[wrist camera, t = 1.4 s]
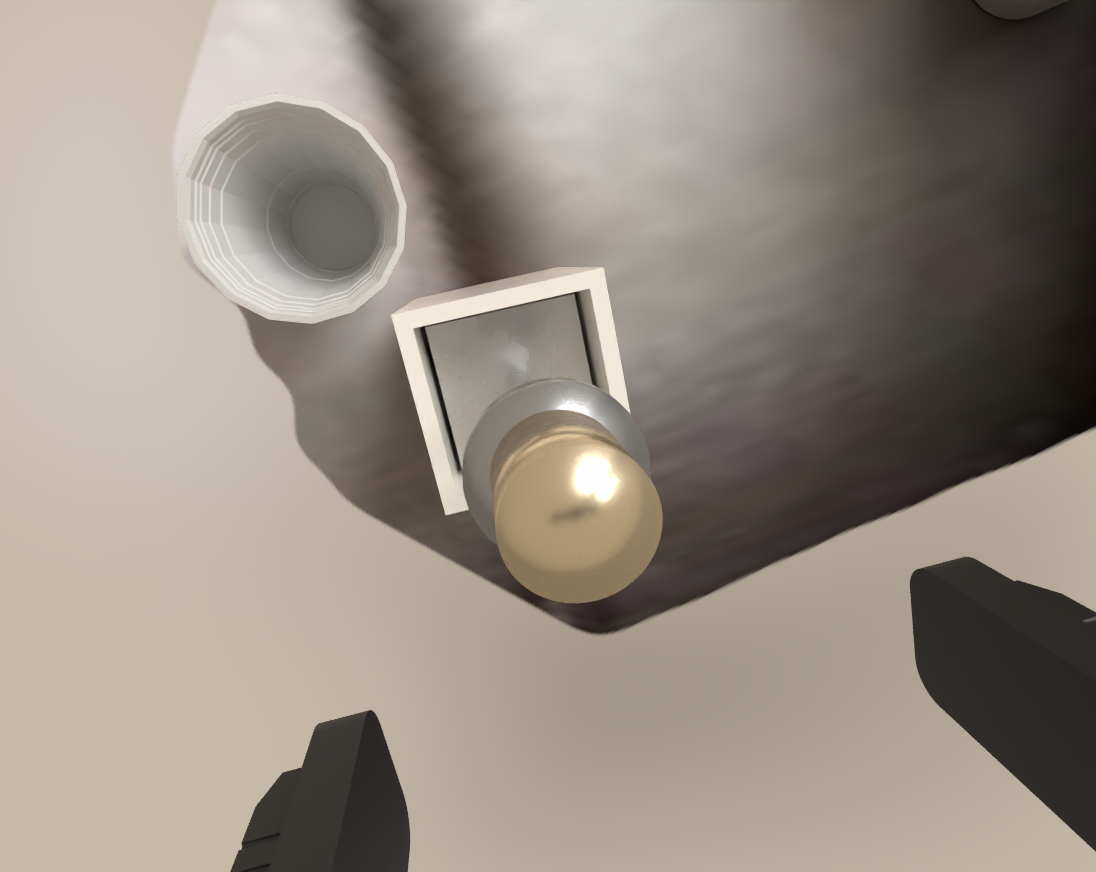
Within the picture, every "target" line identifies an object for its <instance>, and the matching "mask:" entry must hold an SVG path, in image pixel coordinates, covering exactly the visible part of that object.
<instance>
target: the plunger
mask: <svg viewBox="0 0 1096 872" xmlns="http://www.w3.org/2000/svg"><path fill="white" fill-rule="evenodd" d="M425 329H426V333H427V337H428V341H429V345H430V349H431V352H432V356H433V360H434V364H435V368H436V372H437V375H438V379H439V383H440V387H441V391H442V395H443V398H444V402H445V406H446V410H447V414H448V418H449V421H450V425H451V429H452V433H453V437H454V441H455V444H456V448H457V452H458V456H459V460H460V464H461V467H462V480H463V490H464V496H465V500H466V503H467V506H468V509H469V511H470V513H471V515H472V517H473V519H474V521H475V522H476V524H477V525H478V527H479V528H480V529H481V531H482V532H483V533H484V534H485V535H486V536H487V537H488V538H489V539H490V540H491V541H492V542H493V543H495V544H496V545H497V546H498V547H499V550H500V553H501V556H502V559H503V561H504V563H505V565H506V566H507V568H508V569H509V571H510V572H511V574H512V575H513V576H514V577H515V578H516V579H517V580H518V581H519V582H520V583H521V584H522V585H523V586H524V587H526V588H527V589H529V590H530V591H532V592H533V593H535V594H537V595H539V596H542V597H544V598H547V599H550V600H553V601H558V602H564V603H586V602H591V601H596V600H599V599H603V598H606V597H608V596H610V595H613V594H615V593H617V592H618V591H620V590H622V589H623V588H625V587H626V586H628V585H629V584H630V583H632V582H633V581H634V580H635V579H636V578H637V577H638V576H639V575H640V574H641V573H642V572H643V571H644V569H645V568H646V567H647V566H648V564H649V562H650V561H651V559H652V558H653V556H654V554H655V551H656V549H657V547H658V544H659V540H660V537H661V531H662V507H661V503H660V499H659V496H658V493H657V491H656V488H655V486H654V485H653V483H652V481H651V479H650V457H649V451H648V447H647V443H646V440H645V438H644V435H643V433H642V431H641V429H640V427H639V425H638V424H637V422H636V421H635V419H634V418H633V417H632V415H631V414H630V413H629V412H628V411H627V410H626V409H625V408H624V407H623V406H622V405H621V404H620V403H619V402H618V401H617V400H616V399H615V398H613V397H612V396H611V395H609V394H608V393H606V392H605V391H603V390H601V389H600V388H598V387H596V386H594V385H592V381H591V376H590V371H589V366H588V361H587V356H586V351H585V345H584V340H583V335H582V330H581V325H580V320H579V315H578V310H577V305H576V300H575V295H574V293H568V294H564V295H560V296H555V297H551V298H546V299H542V300H537V301H533V302H529V303H524V304H520V305H515V306H511V307H506V308H502V309H498V310H493V311H489V312H484V313H480V314H475V315H471V316H467V317H462V318H458V319H453V320H449V321H444V322H440V323H436V324H431V325H427V326H426V327H425Z"/></svg>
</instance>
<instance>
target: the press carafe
mask: <svg viewBox="0 0 1096 872" xmlns="http://www.w3.org/2000/svg"><path fill="white" fill-rule="evenodd" d="M568 293H574V295H575V300H576V305H577V310H578V315H579V320H580V325H581V330H582V335H583V340H584V345H585V351H586V356H587V361H588V366H589V371H590V376H591V381H592V385H594V386H596V387H598V388H600V389H601V390H603V391H605V392H606V393H608V394H609V395H611V396H612V397H613V398H615V399H616V400H617V401H618V402H619V403H620V404H621V405H622V406H623V407H624V408H625V409H626V410H627V411H628V412H629V413H630V409H629V404H628V398H627V393H626V387H625V382H624V376H623V371H622V366H621V360H620V355H619V349H618V344H617V339H616V333H615V328H614V322H613V317H612V312H611V306H610V301H609V295H608V290H607V284H606V279H605V274H604V268H603V267H555V268H551V269H546V270H542V271H537V272H533V273H528V274H524V275H519V276H515V277H510V278H506V279H502V280H497V281H493V282H488V283H484V284H479V285H475V286H470V287H466V288H461V289H457V290H452V291H448V292H443V293H439V294H434V295H430V296H425V297H421V298H416V299H414V300H413V301H411V302H410V303H408V304H407V305H405V306H404V307H402V308H401V309H399V310H398V311H396V312H395V313H393V314H392V315H391V317H392V321H393V324H394V328H395V332H396V335H397V339H398V343H399V346H400V350H401V354H402V357H403V361H404V365H405V368H406V372H407V376H408V379H409V383H410V387H411V390H412V394H413V398H414V401H415V405H416V409H417V412H418V416H419V419H420V423H421V427H422V430H423V434H424V438H425V441H426V445H427V449H428V452H429V456H430V460H431V463H432V467H433V471H434V474H435V478H436V482H437V485H438V489H439V493H440V496H441V500H442V504H443V507H444V511H445V515H449V514H453V513H457V512H461V511H465V510H469V509H468V506H467V503H466V500H465V496H464V490H463V480H462V467H461V464H460V460H459V456H458V452H457V448H456V444H455V441H454V437H453V433H452V429H451V425H450V421H449V418H448V414H447V410H446V406H445V402H444V398H443V395H442V391H441V387H440V383H439V379H438V375H437V372H436V368H435V364H434V360H433V356H432V352H431V349H430V345H429V341H428V337H427V333H426V329H425V327H426V326H427V325H431V324H436V323H440V322H444V321H449V320H453V319H458V318H462V317H467V316H471V315H475V314H480V313H484V312H489V311H493V310H498V309H502V308H506V307H511V306H515V305H520V304H524V303H529V302H533V301H537V300H542V299H546V298H551V297H555V296H560V295H564V294H568Z"/></svg>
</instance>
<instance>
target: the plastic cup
mask: <svg viewBox="0 0 1096 872" xmlns="http://www.w3.org/2000/svg"><path fill="white" fill-rule="evenodd" d="M406 207H407V206H406V202H405V199H404V196H403V193H402V190H401V187H400V184H399V181H398V177H397V174H396V171H395V168H394V165H393V162H392V161H391V160H390V159H389V157H388V156H387V155H386V154H385V152H384V151H383V150H382V149H381V147H380V146H379V145H378V143H377V142H376V141H375V140H374V138H373V137H372V136H371V135H370V133H369V132H368V131H367V130H366V128H365V127H364V126H363V125H361V124H360V123H358V122H356V121H355V120H353V119H351V118H350V117H348V116H346V115H345V114H343V113H341V112H340V111H338V110H336V109H335V108H333V107H331V106H330V105H328V104H326V103H325V102H323V101H319V100H313V99H307V98H301V97H295V96H289V95H283V94H277V93H275V94H271V95H267V96H263V97H259V98H255V99H251V100H247V101H243V102H239V103H235V104H231V105H230V106H229V107H228V108H226V109H225V110H224V111H223V112H221V113H220V114H219V115H218V116H217V117H215V118H214V119H213V120H212V121H210V122H209V123H208V124H207V125H206V126H204V127H203V128H202V129H201V130H199V131H198V132H197V133H196V135H195V137H194V139H193V141H192V144H191V146H190V148H189V150H188V152H187V154H186V156H185V159H184V161H183V163H182V165H181V167H180V169H179V171H178V174H177V221H178V224H179V226H180V229H181V231H182V234H183V236H184V239H185V241H186V244H187V246H188V248H189V251H190V253H191V256H192V258H193V261H194V263H195V265H196V266H197V267H198V268H199V269H200V270H201V271H202V272H203V273H204V274H205V276H206V277H207V278H208V279H209V280H210V281H211V282H212V283H213V284H214V285H215V286H216V287H217V288H218V289H219V290H220V292H221V293H222V294H223V295H224V296H225V297H226V298H227V299H229V300H231V301H233V302H235V303H237V304H239V305H241V306H243V307H245V308H247V309H249V310H251V311H253V312H255V313H257V314H259V315H261V316H263V317H265V318H267V319H269V320H278V321H288V322H298V323H308V324H314V323H318V322H321V321H325V320H328V319H331V318H335V317H338V316H342V315H345V314H348V313H352V312H354V311H355V310H356V309H358V308H359V307H360V306H361V305H362V304H364V303H365V302H366V301H367V300H369V299H370V298H371V297H372V296H373V295H375V294H376V293H377V292H378V291H379V290H381V289H382V288H383V287H384V286H385V285H386V283H387V281H388V279H389V277H390V275H391V273H392V271H393V269H394V267H395V265H396V263H397V261H398V259H399V257H400V255H401V253H402V251H403V249H404V237H405V222H406Z"/></svg>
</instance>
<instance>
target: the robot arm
mask: <svg viewBox="0 0 1096 872" xmlns="http://www.w3.org/2000/svg"><path fill="white" fill-rule="evenodd" d="M975 1H976V2H977V3H978V4H979V6H980V7H981V8H982V9H984V10H986V11H987V12H989V13H990V14H992V15H994V16H997V17H1000V18H1004V19H1023V18H1027V17H1032V16H1034V15H1036V14H1038V13H1041V12H1043V11H1045V10H1048V9H1050V8H1052V7H1054V6H1057V5H1059V4H1061V3H1064V2H1066V1H1068V0H975ZM910 593H911V607H912V620H913V633H914V646H915V647H914V648H915V659H916V665H917V669H918V672H919V675H920V678H921V680H922V682H923V684H924V686H925V688H926V689H927V691H928V693H929V694H930V696H931V697H932V698H933V699H934V701H935V702H936V703H937V704H938V705H939V706H940V707H941V708H942V709H943V710H944V711H945V712H946V713H947V714H948V715H949V716H950V717H952V718H953V719H954V720H955V721H956V722H957V723H958V724H959V725H960V726H962V728H964V729H965V730H966V731H967V732H968V733H969V734H970V735H971V736H972V737H973V738H974V739H975V740H976V741H977V742H979V743H980V744H981V745H982V746H983V747H984V748H985V749H986V750H987V751H988V752H989V753H990V754H991V755H992V756H994V757H995V758H996V759H997V760H998V761H999V762H1000V763H1001V764H1002V765H1003V766H1004V767H1005V768H1007V769H1008V770H1009V771H1010V772H1011V773H1012V774H1013V775H1014V776H1015V777H1016V778H1017V779H1018V780H1019V781H1020V782H1022V783H1023V784H1024V785H1025V786H1026V787H1027V788H1028V789H1029V790H1030V791H1031V792H1032V793H1033V794H1034V795H1036V796H1037V797H1038V798H1039V799H1040V800H1041V801H1042V802H1043V803H1044V804H1045V805H1046V806H1047V807H1049V808H1050V809H1051V810H1052V811H1053V812H1054V813H1055V814H1056V815H1057V816H1058V817H1059V818H1060V819H1061V820H1062V821H1064V822H1065V823H1066V824H1067V825H1068V826H1069V827H1070V828H1071V829H1072V830H1073V831H1074V832H1075V833H1076V834H1078V835H1079V836H1080V837H1081V838H1082V839H1083V840H1084V841H1085V842H1086V843H1087V844H1088V845H1089V846H1090V847H1092V848H1093V849H1094V850H1095V851H1096V612H1094V611H1092V610H1090V609H1089V608H1086V607H1085V606H1083V605H1081V604H1079V603H1077V602H1076V601H1074V600H1072V599H1070V598H1069V597H1067V596H1065V595H1063V594H1061V593H1058V592H1054V591H1051V590H1048V589H1044V588H1041V587H1038V586H1035V585H1031V584H1028V583H1025V582H1021V581H1018V580H1017V581H1013V580H1011V579H1009V578H1007V577H1006V576H1004V575H1002V574H1000V573H999V572H997V571H995V570H993V569H992V568H990V567H988V566H986V565H985V564H983V563H981V562H979V561H978V560H976V559H974V558H970V557H963V558H959V559H955V560H951V561H947V562H943V563H940V564H936V565H932V566H928V567H924V568H921V569H917V570H915V571H914V572H913V574H912V576H911V579H910ZM409 851H410V827H409V818H408V812H407V806H406V802H405V798H404V794H403V791H402V788H401V785H400V782H399V779H398V776H397V773H396V770H395V767H394V764H393V761H392V758H391V755H390V752H389V749H388V746H387V743H386V740H385V737H384V734H383V731H382V728H381V725H380V723H379V720H378V718H377V716H376V714H375V713H374V712H373V711H372V710H369V711H365V712H362V713H358V714H354V715H350V716H346V717H342V718H338V719H335V720H331V721H327V722H323V723H319V724H318V725H317V726H316V727H315V729H314V732H313V735H312V738H311V741H310V744H309V747H308V750H307V753H306V756H305V759H304V763H303V765H302V768H298V769H295V770H291V771H287V772H284V773H282V774H281V775H280V777H279V778H278V779H277V780H276V782H275V783H274V784H273V785H272V787H271V788H270V789H269V791H268V792H267V793H266V794H265V796H264V797H263V798H262V799H261V801H260V802H259V803H258V804H257V806H256V807H255V810H254V812H253V815H252V817H251V820H250V823H249V825H248V828H247V831H246V833H245V835H244V838H243V841H242V850H239V851H238V854H237V856H236V859H235V861H234V864H233V866H232V869H231V872H408V862H409Z"/></svg>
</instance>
